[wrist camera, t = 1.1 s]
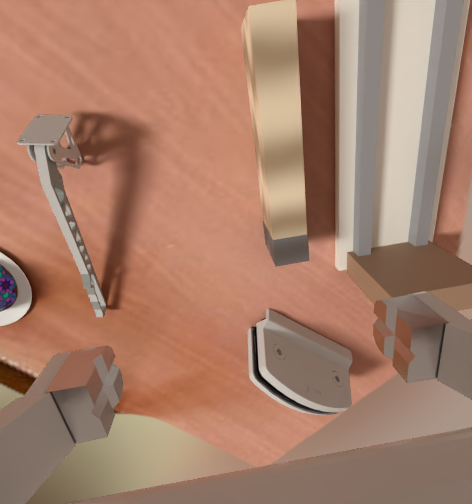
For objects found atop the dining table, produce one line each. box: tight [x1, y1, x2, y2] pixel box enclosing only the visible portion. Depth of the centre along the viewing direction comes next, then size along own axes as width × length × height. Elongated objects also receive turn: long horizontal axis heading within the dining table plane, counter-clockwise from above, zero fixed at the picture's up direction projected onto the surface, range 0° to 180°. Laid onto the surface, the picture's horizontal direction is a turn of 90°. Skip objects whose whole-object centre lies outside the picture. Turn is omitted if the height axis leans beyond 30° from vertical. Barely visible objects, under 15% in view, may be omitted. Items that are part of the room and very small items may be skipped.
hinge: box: [248, 309, 353, 415], centre depth 41 cm, size 17×5×10 cm, turn 57°
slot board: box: [335, 0, 472, 311], centre depth 27 cm, size 32×12×11 cm, turn 9°
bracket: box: [17, 114, 106, 317], centre depth 32 cm, size 3×21×10 cm, turn 178°
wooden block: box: [241, 0, 309, 266], centre depth 29 cm, size 22×4×6 cm, turn 9°
